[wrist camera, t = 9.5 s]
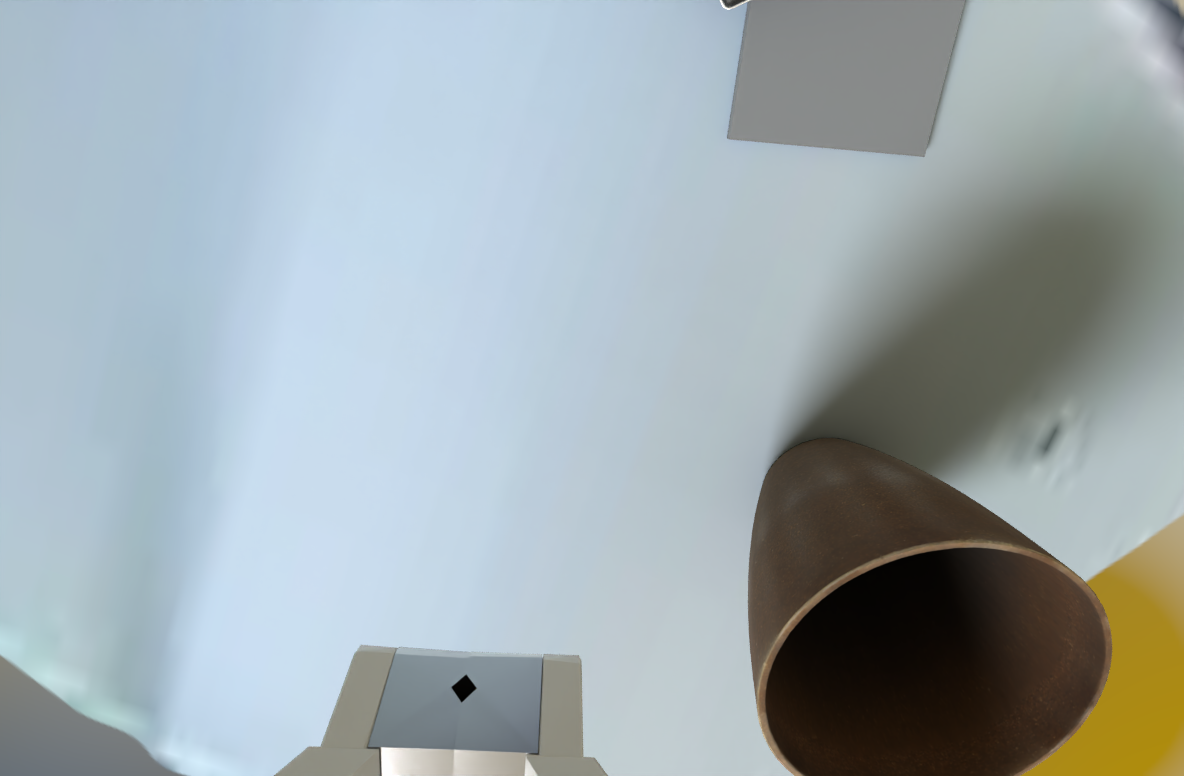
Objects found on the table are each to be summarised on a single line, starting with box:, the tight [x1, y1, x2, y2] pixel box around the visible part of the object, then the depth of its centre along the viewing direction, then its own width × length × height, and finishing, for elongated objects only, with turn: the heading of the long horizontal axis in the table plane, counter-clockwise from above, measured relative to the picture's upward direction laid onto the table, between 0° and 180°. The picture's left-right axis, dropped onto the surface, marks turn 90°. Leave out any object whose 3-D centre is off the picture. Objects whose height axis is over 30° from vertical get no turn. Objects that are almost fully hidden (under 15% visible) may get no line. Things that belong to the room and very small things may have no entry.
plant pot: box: [748, 438, 1112, 776], centre depth 38 cm, size 15×15×16 cm
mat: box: [727, 0, 965, 157], centre depth 34 cm, size 10×13×1 cm
